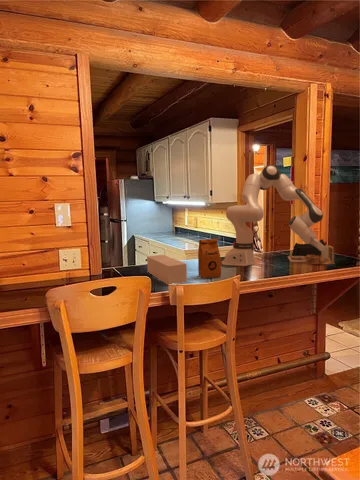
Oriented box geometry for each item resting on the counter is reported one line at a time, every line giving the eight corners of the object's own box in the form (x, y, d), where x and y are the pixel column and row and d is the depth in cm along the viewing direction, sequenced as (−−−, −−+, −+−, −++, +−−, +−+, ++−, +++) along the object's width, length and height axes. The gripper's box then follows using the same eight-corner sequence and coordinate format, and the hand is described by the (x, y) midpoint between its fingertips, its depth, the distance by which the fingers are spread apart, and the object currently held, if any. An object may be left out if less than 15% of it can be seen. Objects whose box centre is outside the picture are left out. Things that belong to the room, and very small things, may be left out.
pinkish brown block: (147, 273, 200) (147, 256, 198) (163, 271, 204) (163, 254, 203) (168, 286, 171) (168, 266, 170) (187, 283, 176) (186, 263, 174)
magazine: (292, 245, 232) (323, 231, 241) (289, 245, 235) (320, 230, 244) (297, 267, 236) (328, 252, 245) (294, 266, 239) (324, 251, 248)
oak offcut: (308, 258, 211) (308, 255, 211) (306, 257, 215) (306, 254, 215) (316, 258, 211) (316, 255, 211) (314, 257, 215) (314, 254, 215)
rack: (308, 265, 209) (308, 248, 207) (304, 261, 220) (305, 245, 218) (335, 265, 206) (335, 248, 205) (330, 262, 217) (330, 245, 215)
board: (321, 260, 211) (321, 246, 210) (320, 259, 213) (321, 245, 212) (328, 260, 210) (328, 246, 209) (327, 259, 212) (327, 245, 211)
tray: (290, 263, 215) (290, 260, 215) (287, 259, 229) (287, 256, 228) (306, 263, 213) (306, 260, 213) (302, 259, 227) (302, 256, 227)
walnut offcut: (307, 262, 212) (307, 258, 211) (305, 261, 217) (305, 257, 216) (317, 262, 211) (317, 258, 210) (315, 261, 216) (315, 257, 215)
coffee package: (222, 278, 184) (222, 239, 181) (201, 279, 181) (200, 240, 178) (217, 273, 193) (216, 237, 190) (197, 275, 191) (196, 238, 188)
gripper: (316, 235, 201) (333, 251, 200) (309, 232, 221) (324, 246, 220) (308, 242, 202) (325, 258, 201) (302, 238, 222) (317, 252, 221)
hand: (324, 252), depth 211 cm, fingers closed on board, 2 cm apart
